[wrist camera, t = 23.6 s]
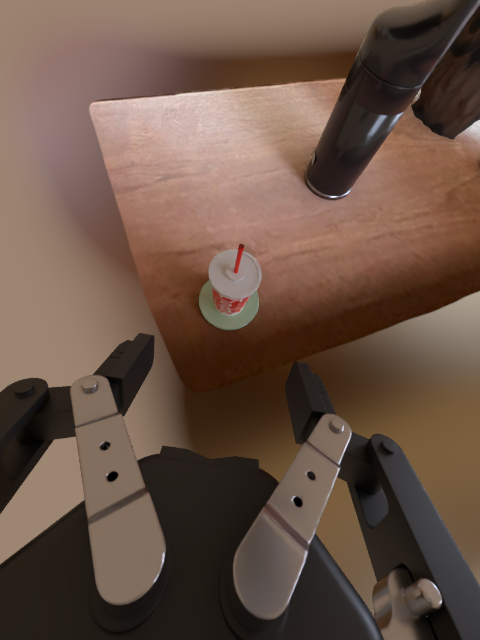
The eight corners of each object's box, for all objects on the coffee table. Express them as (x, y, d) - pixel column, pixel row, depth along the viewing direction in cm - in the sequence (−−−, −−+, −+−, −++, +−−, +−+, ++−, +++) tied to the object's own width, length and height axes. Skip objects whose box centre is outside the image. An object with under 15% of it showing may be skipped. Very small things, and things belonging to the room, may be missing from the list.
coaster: (226, 264, 38) (227, 262, 37) (269, 301, 37) (270, 299, 36) (186, 302, 35) (185, 300, 34) (231, 342, 34) (231, 342, 33)
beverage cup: (200, 307, 34) (195, 253, 21) (222, 275, 36) (230, 208, 23) (236, 328, 34) (254, 288, 21) (256, 295, 36) (284, 239, 23)
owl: (458, 144, 54) (591, 11, 35) (407, 127, 54) (515, -17, 35) (455, 109, 58) (574, -27, 39) (408, 93, 58) (505, -53, 39)
